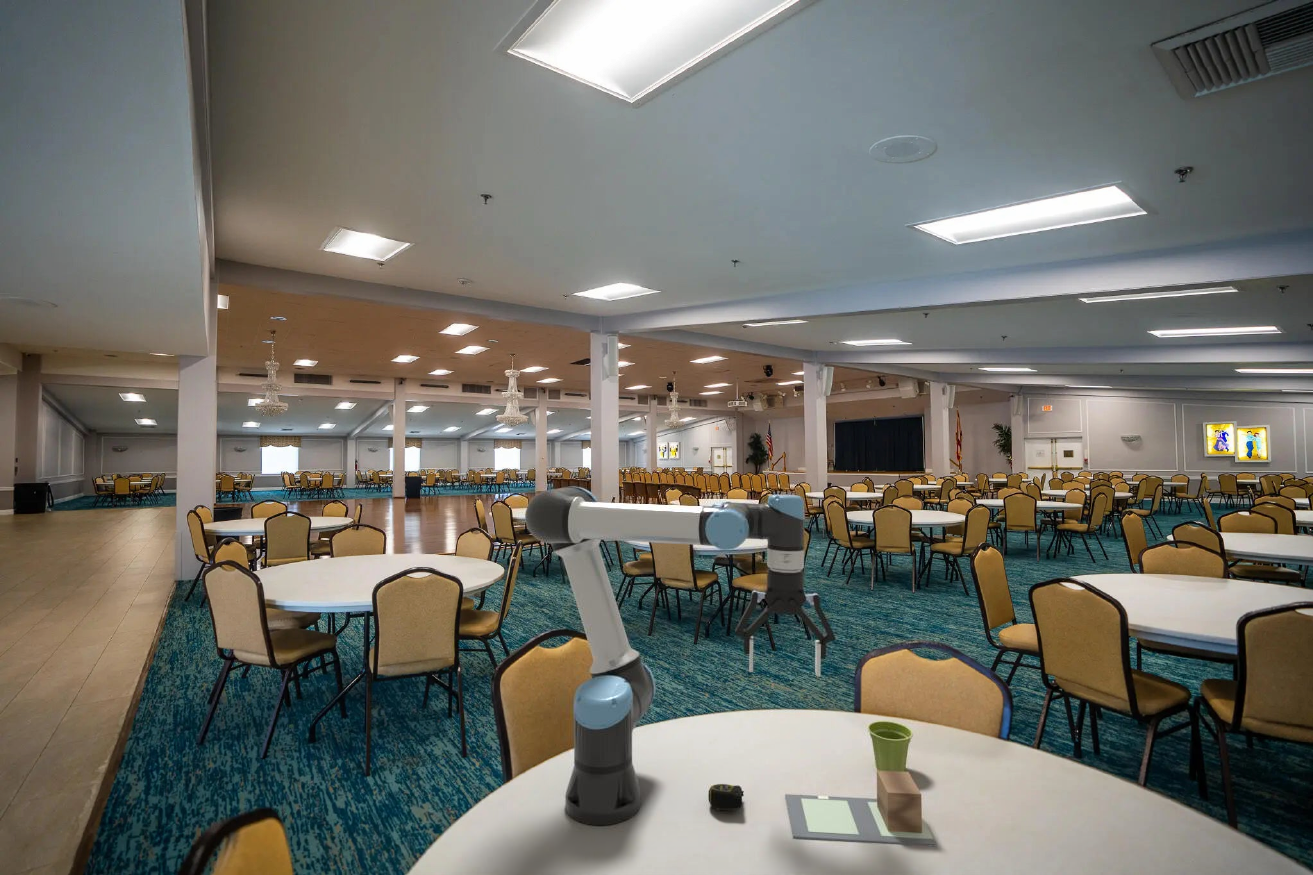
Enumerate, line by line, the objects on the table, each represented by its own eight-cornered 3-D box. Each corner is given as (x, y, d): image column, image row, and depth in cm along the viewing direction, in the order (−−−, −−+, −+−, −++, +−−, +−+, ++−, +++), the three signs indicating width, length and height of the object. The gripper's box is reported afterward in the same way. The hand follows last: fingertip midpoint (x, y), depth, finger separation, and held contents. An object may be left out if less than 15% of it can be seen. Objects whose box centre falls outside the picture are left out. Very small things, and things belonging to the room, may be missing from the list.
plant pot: (920, 780, 133) (919, 739, 133) (876, 780, 133) (875, 739, 133) (903, 759, 142) (903, 720, 143) (862, 758, 143) (862, 720, 143)
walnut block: (888, 831, 114) (887, 792, 114) (877, 806, 122) (876, 770, 122) (922, 832, 113) (921, 794, 113) (908, 808, 121) (908, 771, 121)
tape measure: (742, 814, 118) (741, 792, 119) (707, 812, 120) (706, 791, 121) (744, 804, 125) (743, 783, 126) (710, 802, 126) (709, 782, 127)
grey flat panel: (793, 840, 112) (793, 835, 112) (785, 798, 126) (785, 793, 126) (936, 848, 110) (936, 843, 110) (912, 804, 124) (912, 799, 124)
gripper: (724, 569, 127) (723, 674, 127) (850, 575, 124) (849, 682, 123) (725, 563, 134) (724, 661, 134) (844, 568, 131) (843, 669, 131)
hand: (784, 672), depth 129 cm, fingers open, 13 cm apart
